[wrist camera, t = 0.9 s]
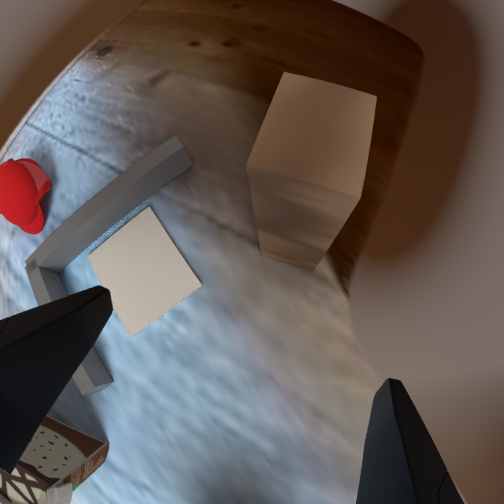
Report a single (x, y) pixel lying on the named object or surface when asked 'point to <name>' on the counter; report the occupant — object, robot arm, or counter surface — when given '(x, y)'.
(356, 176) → the walnut block
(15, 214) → the cap
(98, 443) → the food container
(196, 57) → the counter surface
